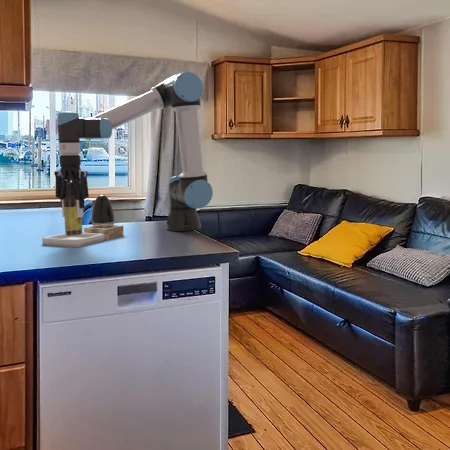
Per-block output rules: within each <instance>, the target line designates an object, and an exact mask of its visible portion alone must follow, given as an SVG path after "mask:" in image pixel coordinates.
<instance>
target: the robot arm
mask: <svg viewBox="0 0 450 450" xmlns="http://www.w3.org/2000/svg"><path fill="white" fill-rule="evenodd" d="M203 93H204V84H203V82H202V79H201V78H200V77H199V76H198V74H196V73H194V72H191V71H182V72H181V71H180V72H178V73H177V74H174V75H171V76H169V77H167V78H166V79H165V80H163V81H162V82H160V83H159V84H157V85H155V86H153V87H151V88H150V91H148V92H145V93H143V94H141V95H139V96H137V97H135V98H131V99H130V100H128V101H125V102H123V103H121V104H118V105H117V106H115V107H111V108H110V109H107V110H106V111H104V112H101V113H99V114H97V115H94V116H93V117H80V116H79V113H78V112H76V111H61V112H59V113H58V114H57V126H56V127H57V136H58V138H57V139H58V153H59V157H58V158H59V165H60V170H56V171H54V178H55V197H56V198H58V199H59V200H60V201H59V202H60V208H61V211H62V218H64V199H65V197H66V196H67V187H66V182H73V184H74V187H75V190H76V193H77V197H78V199H77V200H76V202H77V218H80V217H82V218H84V208H85V199H87V198H89V195H90V194H89V188H88V186H89V185H88V178H87V177H88V171H86V170H82V168H81V165H82V164H81V163H82V162H81V156H80V154H81V143H80V142H81V141H80V139H84V140H88V141H90V140H94V139H96V140H97V139H103V140H104V139H110V138H111V137H112V135H113V130H115V129H116V128H119V127H121V126H123V125H125V124H128V123H129V122H131V121H132V122H133V121H134V120H136V119H138V118H141V117H143V116H146V115H147V114H149V113H152V112H153V111H156V110H158V109H159V110H163V109H165V108H169V107H171V109H172V110H173V111H174V112H175V115H176V124H177V125H176V126H177V135H178V143H179V144H178V145H179V155H180V164H181V165H180V166H181V172H180V174H179V175H175V176H171V177H170V178H169V179H168V192H169V193H168V195H169V197H168V199H169V200H168V201H169V213H168V217H167V220H166V223H165V229H166V230H167V231H172V232H189V231H190V232H191V231H197V230H198V231H199V230H200V229H201V227H202V224H201V221H200V217H199V215H198V213H197V209H201V208H202V209H203V208H204V207H207V205H209V204H210V202H211V200H212V198H213V195H214V194H213V187H212V185H211V184H210V182H208V181H209V180H208V173H207V172H206V171H205V170H204V169H203V158H202V147H201V135H200V126H199V115H198V110H199V109H200V108H201V97H202V95H203Z"/></svg>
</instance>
